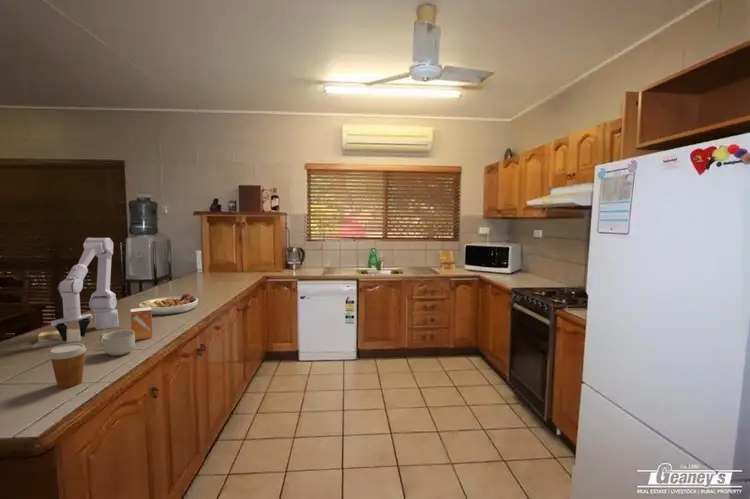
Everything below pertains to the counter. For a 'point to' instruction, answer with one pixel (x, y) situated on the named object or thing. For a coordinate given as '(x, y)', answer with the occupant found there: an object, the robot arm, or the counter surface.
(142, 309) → the small box
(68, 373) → the disposable coffee cup
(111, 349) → the teacup
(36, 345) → the board
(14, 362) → the counter surface
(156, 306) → the bowl
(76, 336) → the cream cube
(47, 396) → the counter surface
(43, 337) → the oak base brick
